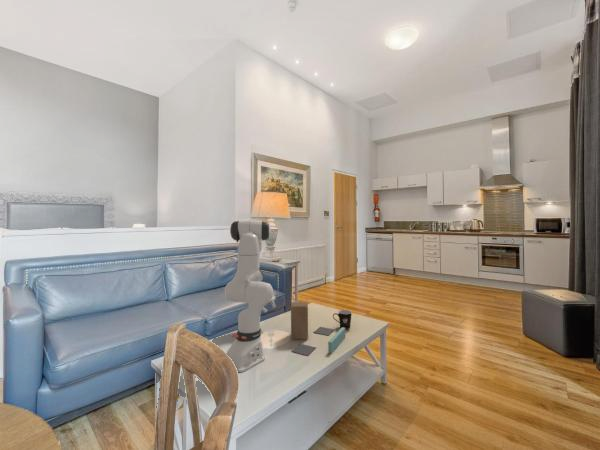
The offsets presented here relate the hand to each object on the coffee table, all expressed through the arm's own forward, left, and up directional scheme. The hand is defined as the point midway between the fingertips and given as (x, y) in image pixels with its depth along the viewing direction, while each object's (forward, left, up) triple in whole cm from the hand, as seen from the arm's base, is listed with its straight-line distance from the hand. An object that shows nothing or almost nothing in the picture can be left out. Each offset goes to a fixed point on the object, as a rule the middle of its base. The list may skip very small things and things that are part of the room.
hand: (270, 309), depth 176 cm
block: (0, -21, -14) cm, 25 cm away
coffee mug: (+27, -39, -14) cm, 49 cm away
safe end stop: (0, -45, -13) cm, 47 cm away
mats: (0, -31, -13) cm, 34 cm away
